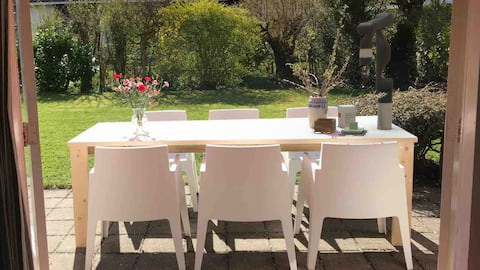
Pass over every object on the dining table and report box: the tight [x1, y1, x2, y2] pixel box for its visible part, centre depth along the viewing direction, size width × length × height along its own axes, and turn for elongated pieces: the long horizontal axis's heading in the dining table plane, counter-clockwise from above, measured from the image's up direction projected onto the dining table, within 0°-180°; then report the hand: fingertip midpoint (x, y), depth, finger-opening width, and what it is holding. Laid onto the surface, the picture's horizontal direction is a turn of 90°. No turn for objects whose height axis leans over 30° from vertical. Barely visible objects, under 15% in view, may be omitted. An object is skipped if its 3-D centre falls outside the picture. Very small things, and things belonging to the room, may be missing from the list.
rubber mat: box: [340, 128, 368, 137], centre depth 323 cm, size 18×16×1 cm
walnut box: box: [313, 117, 337, 134], centre depth 330 cm, size 12×12×8 cm
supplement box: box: [337, 104, 357, 129], centre depth 345 cm, size 9×9×15 cm
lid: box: [342, 121, 365, 134], centre depth 322 cm, size 12×12×6 cm
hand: (365, 83), depth 311 cm, fingers open, 8 cm apart
